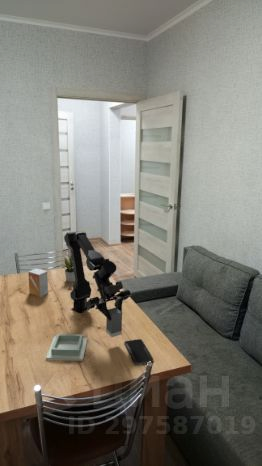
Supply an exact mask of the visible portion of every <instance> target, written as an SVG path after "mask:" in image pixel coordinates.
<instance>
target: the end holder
mask: <svg viewBox="0 0 262 466" xmlns="http://www.w3.org/2000/svg"><path fill="white" fill-rule="evenodd" d="M87 343H88V337H84V334H74V333H73V334H71V333H69V334H67V333H65V334H64V333H57V334H56V336H53V338H52V342H51V344H50V347H49V349H48V350H47V351H48V352H47V354H46V356H45V361H67V362H68V361H70V362H71V361H73V362H75V361H76V362H83V361H84V357H85V353H86V348H87V345H88V344H87Z"/></svg>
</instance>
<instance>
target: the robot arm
mask: <svg viewBox="0 0 262 466" xmlns="http://www.w3.org/2000/svg"><path fill="white" fill-rule="evenodd" d="M63 237H64V238H63V240H64V242H65V246H66V247H67V248H68V249H69V250H70V254H71V256H72V263H73V269H74V275H75V281H73V285H72V290H71V292H70V293H69V296H70V299H71V300H73V307H72V308H71V311H74V312H76V313H79V314H83V313H85V312H86V311H88V310H91V309H94V308H95V310H98V311H99V312H100V313H101V314H102V315H104V317H105V318H107V319H108V320H109V321H111V317H110V314H109V311H108V309H109V308H108V306H107V303H108V302H111V301H115V302H114V303H113V304H114V308H116V307H117V308H118V309H119V310H120V311H121V312H122V313H123V302H124V301H126V300H127V299H129V298H130V297H131V296H132V292H131V291H130V290H129V289H124V290H123V288H124V287H123V283H122V281H121V280H119V281H116V282H115V284H114V283H113V282H112V281H111V280H110V278H111V277H112V276H113V275H114V274H115V272H116V271H117V265H116V264H115V263H114V261H112V260H110V259H109V258H105V257H104V256H103V254H101V253H100V252H98V251H97V250H96V249H95V247H94V246H93V245H92V243H91V241H90V239H89V238H88V236H87V233H86V231H78V230H77V231H71V232H69V231H68V232H66V233H65V235H64V236H63ZM81 250H82V252H81ZM82 253H83V254H84V256H85V258H86V261H85V264H86V267H87V268H88V270H89V271H90V272H91V271H94V272H93V275H92V279H93V280H94V281H95V284H96V287H97V289H96V291H97V292H99V293H98V294H99V296H100V297H99V296H94V297H91V294H92V288H91V283H90V281H88V280H87V279H86V277H85V270H84V264H83V259H82V258H83V257H82ZM117 293H118V294H117Z"/></svg>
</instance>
